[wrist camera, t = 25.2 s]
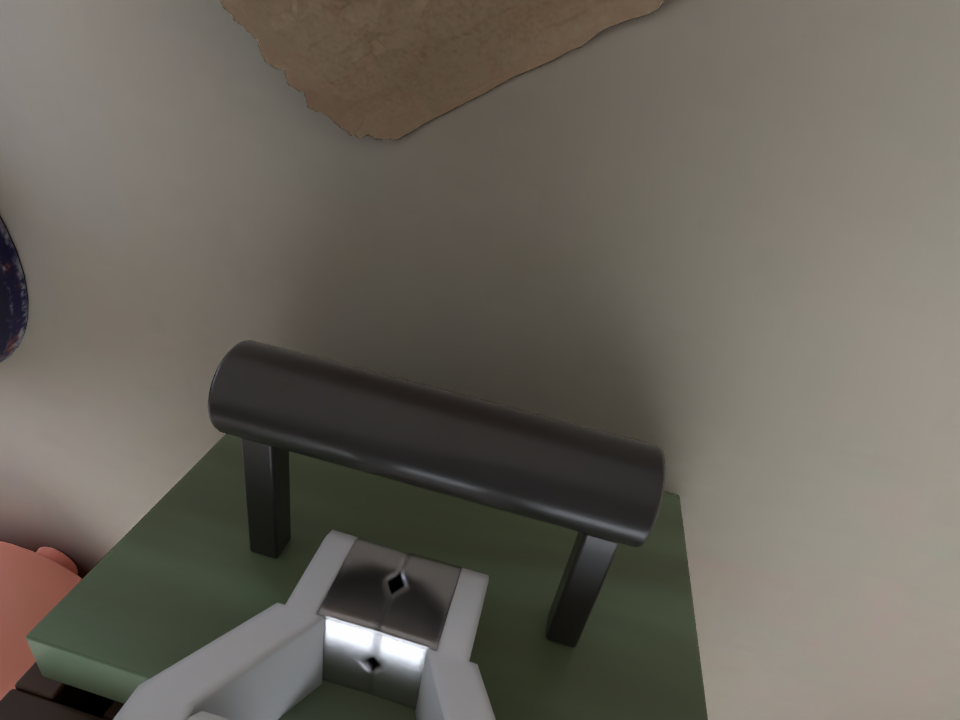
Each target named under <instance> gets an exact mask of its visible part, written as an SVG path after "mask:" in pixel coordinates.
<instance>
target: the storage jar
mask: <svg viewBox="0 0 960 720" xmlns="http://www.w3.org/2000/svg"><path fill="white" fill-rule="evenodd" d="M27 318H28V297H27V291H26V286H25V280H24V275H23V272H22V269H21V265H20V262H19V259H18V256H17V253H16V250H15V248H14V246H13V244H12V241H11V239H10V237H9V235H8V232H7V230H6V228H5V226H4V224H3V222H2V221H1V219H0V362H2V361H3V360H5V359H7V358H8V357H9V356H10V355H11V354H12V353H13V352H14V351H15V349H16V348H17V347H18V346H19V343H20V341H21V339H22V337H23V335H24V332H25V327H26V323H27Z"/></svg>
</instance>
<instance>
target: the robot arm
mask: <svg viewBox="0 0 960 720" xmlns="http://www.w3.org/2000/svg"><path fill="white" fill-rule="evenodd" d="M461 569H462V570H461ZM488 582H489V575H486V574H482V573H479V572H475V571H472V570H468V569H465V568H462V567H460V566H457V565H453V564H449V563H446V562H442V561H439V560H435V559H431V558H428V557H424V556H420V555H417V554H413V553H405V552H402V551H399V550H396V549H393V548H390V547H387V546H384V545H381V544H377V543H374V542H371V541H368V540H365V539H362V538H359V537H356V536H352V535H349V534H346V533H342V532H339V531H336V530H332V531H331V532H330V533H329V534H328V535H327V536H326V537H325V538H324V540H323V542H322V544H321V545H320V547H319V549H318V550H317V552H316V554H315V555H314V557H313V559H312V560H311V562H310V564H309V565H308V567H307V569H306V571H305V572H304V574H303V576H302V577H301V579H300V581H299V582H298V584H297V586H296V587H295V589H294V591H293V592H292V594H291V596H290V598H289V599H288V601H287V603H286V604H285V605H284V604H281V603H276V604H274V605H273V606H271V607H269V608H268V609H266V610H264V611H262V612H261V613H259V614H257V615H256V616H254V617H252V618H251V619H249V620H247V621H246V622H244V623H242V624H241V625H239V626H237V627H236V628H234V629H232V630H231V631H229V632H227V633H226V634H224V635H222V636H221V637H219V638H217V639H216V640H214V641H212V642H211V643H209V644H207V645H206V646H204V647H202V648H201V649H199V650H197V651H196V652H194V653H192V654H191V655H189V656H187V657H185V658H184V659H182V660H180V661H179V662H177V663H175V664H174V665H172V666H170V667H169V668H167V669H165V670H164V671H162V672H160V673H159V674H157V675H155V676H154V677H152V678H150V679H149V680H147V681H145V682H144V683H142V684H140V685H139V686H138V687H137V688H136V689H135V691H134V692H133V693H132V695H131V696H130V697H129V699H128V700H127V701H126V703H125V704H124V705H123V707H122V708H121V709H120V711H119V712H118V713H117V715H116V716H115V717H114V719H113V720H278V719H279V718H280V717H281V716H283V715H284V714H285V713H286V712H288V711H289V710H290V709H291V708H293V707H294V706H295V705H296V704H297V703H299V702H300V701H301V700H302V699H304V698H305V697H306V696H307V695H309V694H310V693H311V692H312V691H314V690H315V689H316V688H317V687H318V686H320V685H321V684H322V680H324V681H327V682H330V683H334V684H337V685H340V686H344V687H347V688H351V689H354V690H357V691H361V692H364V693H368V694H371V695H374V696H377V697H379V698H382V699H385V700H388V701H391V702H394V703H397V704H400V705H403V706H406V707H409V708H412V709H414V710H415V714H416V719H417V720H496V719H495V716H494V713H493V710H492V707H491V704H490V701H489V698H488V695H487V692H486V689H485V686H484V683H483V680H482V677H481V674H480V671H479V668H478V664H475V663H472V662H470V661H469V660H470V656H471V652H472V648H473V644H474V640H475V635H476V631H477V627H478V623H479V619H480V615H481V611H482V606H483V602H484V598H485V594H486V590H487V586H488Z"/></svg>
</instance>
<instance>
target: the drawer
mask: <svg viewBox="0 0 960 720" xmlns="http://www.w3.org/2000/svg"><path fill="white" fill-rule="evenodd" d="M208 411H209V417H210V420H211V422H212V424H213V426H214V427H215V428H216V429H217V430H219V431H220V432H222V433H226V434H225V435H224V436H223V437H222V438H221V439H220V440H219V441H218V442H217V443H216V444H215V445H214V446H213V447H212V448H211V449H210V450H209V452H208V453H207V454H206V455H205V456H204V457H203V458H202V459H201V460H200V461H199V462H198V463H197V464H196V465H195V466H194V467H193V468H192V469H191V470H190V471H189V472H188V473H187V474H186V475H185V476H184V477H183V478H182V479H181V480H180V481H179V482H178V483H177V484H176V485H175V486H174V487H173V488H172V489H171V490H170V491H169V492H168V493H167V494H166V495H165V496H164V497H163V498H162V499H161V500H160V501H159V502H158V503H157V504H156V505H155V506H154V507H153V508H152V509H151V510H150V511H149V512H148V513H147V514H146V515H145V516H144V517H143V518H142V519H141V520H140V521H139V522H138V523H137V524H136V525H135V526H134V527H133V528H132V529H131V530H130V531H129V532H128V533H127V534H126V535H125V536H124V537H123V538H122V539H121V540H120V541H119V542H118V543H117V544H116V545H115V546H114V547H113V548H112V549H111V550H110V551H109V552H108V553H107V554H106V555H105V557H104V558H103V559H102V560H101V561H100V562H99V563H98V564H97V565H96V566H95V567H94V568H93V569H92V570H91V571H90V572H89V573H88V574H87V575H86V576H85V577H84V578H83V579H82V580H81V581H80V582H79V583H78V584H77V585H76V586H75V587H74V588H73V589H72V590H71V591H70V592H69V593H68V594H67V595H66V596H65V597H64V598H63V599H62V600H61V601H60V602H59V603H58V604H57V605H56V606H55V607H54V608H53V609H52V610H51V611H50V612H49V613H48V614H47V615H46V616H45V617H44V618H43V619H42V620H41V621H40V622H39V623H38V624H37V625H36V626H35V627H34V628H33V629H32V630H31V631H30V632H29V633H28V634H27V636H26V640H27V642H28V645H29V647H30V649H31V651H32V654H33V656H34V658H35V660H36V663H37V665H38V667H39V669H40V672H41V674H42V676H43V677H46V678H49V679H52V680H55V681H58V682H61V683H64V684H67V685H70V686H73V687H76V688H79V689H82V690H85V691H88V692H91V693H94V694H97V695H100V696H103V697H106V698H109V699H112V700H114V701H113V703H112V704H111V705H110V707H109V708H108V709H107V711H106V712H105V713H104V716H103V719H106V720H113V719H114V717H115V716H116V715H117V713H118V712H119V711H120V709H121V708H122V707H123V705H124V704H125V703H126V701H127V700H128V699H129V697H130V696H131V695H132V693H133V692H134V691H135V689H136V688H137V687H138V686H139V685H140V684H142V683H144V682H145V681H147V680H149V679H150V678H152V677H154V676H155V675H157V674H159V673H160V672H162V671H164V670H165V669H167V668H169V667H170V666H172V665H174V664H175V663H177V662H179V661H180V660H182V659H184V658H185V657H187V656H189V655H191V654H192V653H194V652H196V651H197V650H199V649H201V648H202V647H204V646H206V645H207V644H209V643H211V642H212V641H214V640H216V639H217V638H219V637H221V636H222V635H224V634H226V633H227V632H229V631H231V630H232V629H234V628H236V627H237V626H239V625H241V624H242V623H244V622H246V621H247V620H249V619H251V618H252V617H254V616H256V615H257V614H259V613H261V612H262V611H264V610H266V609H268V608H269V607H271V606H273V605H274V604H276V603H281V604H284V605H285V604H286V603H287V601H288V599H289V598H290V596H291V594H292V592H293V591H294V589H295V587H296V586H297V584H298V582H299V581H300V579H301V577H302V576H303V574H304V572H305V571H306V569H307V567H308V565H309V564H310V562H311V560H312V559H313V557H314V555H315V554H316V552H317V550H318V549H319V547H320V545H321V544H322V542H323V540H324V538H325V537H326V536H327V535H328V534H329V533H330V532H331V531H332V530H336V531H339V532H342V533H346V534H349V535H352V536H356V537H359V538H362V539H365V540H368V541H371V542H374V543H377V544H381V545H384V546H387V547H390V548H393V549H396V550H399V551H402V552H405V553H413V554H417V555H420V556H424V557H428V558H431V559H435V560H439V561H442V562H446V563H449V564H453V565H457V566H460V567H462V568H465V569H468V570H472V571H475V572H479V573H482V574H486V575H489V582H488V586H487V590H486V594H485V598H484V602H483V606H482V611H481V615H480V619H479V623H478V627H477V631H476V635H475V640H474V644H473V648H472V652H471V656H470V660H469V661H470V662H472V663H475V664H478V668H479V671H480V674H481V677H482V680H483V683H484V686H485V689H486V692H487V695H488V698H489V701H490V704H491V707H492V710H493V713H494V716H495V719H496V720H708V718H707V710H706V702H705V694H704V686H703V678H702V670H701V662H700V655H699V647H698V639H697V631H696V623H695V615H694V607H693V599H692V591H691V584H690V576H689V568H688V560H687V552H686V544H685V536H684V528H683V521H682V513H681V505H680V497H679V495H676V494H672V493H668V492H665V491H663V489H664V480H665V459H664V454H663V451H662V449H661V448H660V447H658V446H657V445H653V444H650V443H646V442H642V441H638V440H634V439H630V438H626V437H623V436H619V435H615V434H611V433H607V432H603V431H599V430H596V429H592V428H588V427H584V426H580V425H576V424H572V423H569V422H565V421H561V420H557V419H553V418H549V417H545V416H542V415H538V414H534V413H530V412H526V411H522V410H518V409H515V408H511V407H507V406H503V405H499V404H495V403H491V402H488V401H484V400H480V399H476V398H472V397H468V396H464V395H461V394H457V393H453V392H449V391H445V390H441V389H437V388H434V387H430V386H426V385H422V384H418V383H414V382H410V381H407V380H403V379H399V378H395V377H391V376H387V375H383V374H380V373H376V372H372V371H368V370H364V369H360V368H356V367H353V366H349V365H345V364H341V363H337V362H333V361H329V360H326V359H322V358H318V357H314V356H310V355H306V354H302V353H299V352H295V351H291V350H287V349H283V348H279V347H275V346H272V345H268V344H264V343H260V342H256V341H252V340H249V341H243V342H240V343H238V344H237V345H235V346H234V347H233V348H232V349H230V351H229V352H228V353H227V354H226V355H225V357H224V358H223V359H222V361H221V363H220V364H219V366H218V368H217V370H216V373H215V375H214V378H213V381H212V384H211V388H210V392H209V400H208ZM461 570H462V569H461ZM278 720H417V719H416V714H415V710H414V709H412V708H409V707H406V706H403V705H400V704H397V703H394V702H391V701H388V700H385V699H382V698H379V697H377V696H374V695H371V694H368V693H364V692H361V691H357V690H354V689H351V688H347V687H344V686H340V685H337V684H334V683H330V682H327V681H324V680H322V684H321V685H320V686H318V687H317V688H316V689H315V690H314V691H312V692H311V693H310V694H309V695H307V696H306V697H305V698H304V699H302V700H301V701H300V702H299V703H297V704H296V705H295V706H294V707H293V708H291V709H290V710H289V711H288V712H286V713H285V714H284V715H283V716H281V717H280V718H279V719H278Z"/></svg>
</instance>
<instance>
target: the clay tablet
mask: <svg viewBox="0 0 960 720" xmlns="http://www.w3.org/2000/svg"><path fill="white" fill-rule="evenodd" d="M220 1H221V3H222V6H223V8H224V9H225V10H227V11H228V12H229V13H230V14H231V15H232V16H233V19H234V21H236V22H237V23H239V24H240V25H241V26H243V27H244V28H245V29H246V30H247V31H248V32H249V33H250V34H251V35H252V36H253V37H254V38H255V39H257V40H258V46H259V48H260V51H261V53H262V56H263V58H264V61H265V62H266V63H268V64H270V65H271V66H273V67H274V68H276V69H284V71H285V75H286V79H287V82H288V85H289V86H291V87H293V88H294V89H296V90H297V91H300V92H304V93H305V97H306V102H307V106H308V108H310V109H313V110H314V111H316V112H322V113H324V114H326V115H327V116H328V117H329V118H330V119H331V120H332V121H333V122H334V123H335V124H337V125H338V126H339V127H341V128H342V129H344V130H346V131H347V132H348V133H349V135H350V136H351V135H356V137H358V138H362V137H364V136H366V135H368V134H369V135H370V136H372V137H373V138H374V139H376V140H377V139H383V138H385V139H392V140H397V139H399V138H401V137H403V136H404V135H406V134H408V133H410V132H412V131H413V130H415V129H416V128H418V127H419V126H421V125H423V124H425V123H426V122H428V121H430V120H431V119H434V118H436V117H438V116H440V115H442V114H445V113H447V112H449V111H450V110H452V109H454V108H456V107H458V106H460V105H462V104H464V103H466V102H468V101H470V100H472V99H474V98H476V97H478V96H480V95H482V94H484V93H486V92H488V91H489V90H491V89H492V88H494V87H496V86H498V85H500V84H502V83H503V82H505V81H506V80H508V79H509V78H512V77H514V76H516V75H519V74H521V73H523V72H526V71H528V70H531V69H533V68H535V67H538V66H540V65H542V64H545V63H547V62H549V61H551V60H554V59H556V58H557V57H559V56H561V55H563V54H564V53H566V52H568V51H569V50H571V49H576V48H580V47H581V46H583V45H584V44H585V43H586V42H588V41H589V40H590V39H591V38H593V37H594V36H595V35H596V34H598V33H599V32H600V31H601V30H603V29H605V28H608V27H611V26H613V25H616V24H618V23H621V22H624V21H626V20H629V19H632V18H637V17H641V16H645V15H646V14H648V13H651V12H653V11H655V10H658V9H659V7H660V6H661V4H662V3H663V2H664V1H665V0H220Z"/></svg>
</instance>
